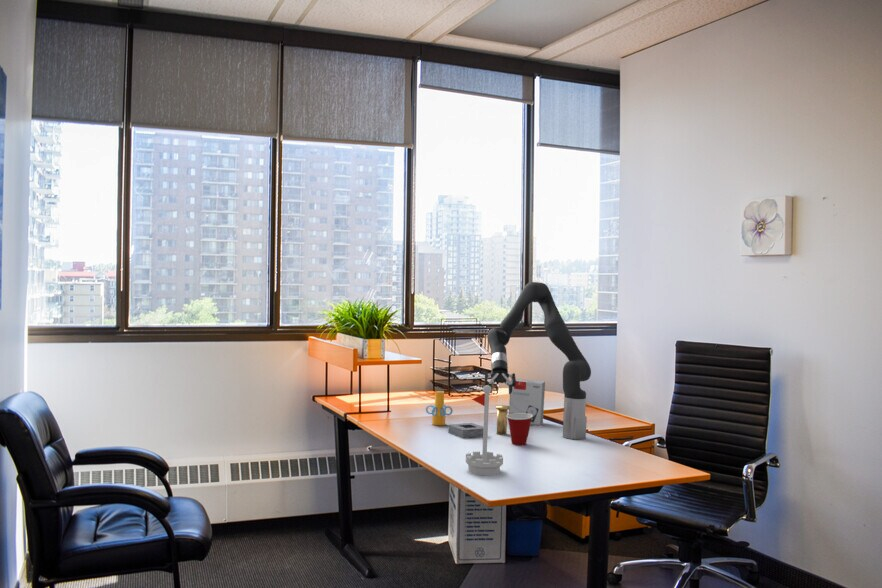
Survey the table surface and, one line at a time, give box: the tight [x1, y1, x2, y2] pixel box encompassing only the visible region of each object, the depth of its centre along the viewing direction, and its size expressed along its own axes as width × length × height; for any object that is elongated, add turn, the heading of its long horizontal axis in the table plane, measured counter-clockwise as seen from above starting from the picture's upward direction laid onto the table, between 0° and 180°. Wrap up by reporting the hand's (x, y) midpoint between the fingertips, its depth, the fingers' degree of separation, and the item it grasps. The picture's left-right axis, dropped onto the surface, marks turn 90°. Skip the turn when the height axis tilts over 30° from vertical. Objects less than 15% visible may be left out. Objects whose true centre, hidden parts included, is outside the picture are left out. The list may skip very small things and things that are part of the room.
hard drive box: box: [508, 378, 546, 426], centre depth 348 cm, size 16×8×20 cm, turn 71°
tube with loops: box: [425, 390, 453, 426], centre depth 335 cm, size 12×10×15 cm
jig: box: [447, 422, 484, 439], centre depth 316 cm, size 12×12×4 cm
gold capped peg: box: [495, 404, 509, 436], centre depth 320 cm, size 6×6×12 cm
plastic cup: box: [506, 413, 533, 446], centre depth 301 cm, size 11×11×12 cm
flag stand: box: [465, 385, 504, 476], centre depth 256 cm, size 13×13×30 cm
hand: (500, 392), depth 332 cm, fingers open, 8 cm apart
